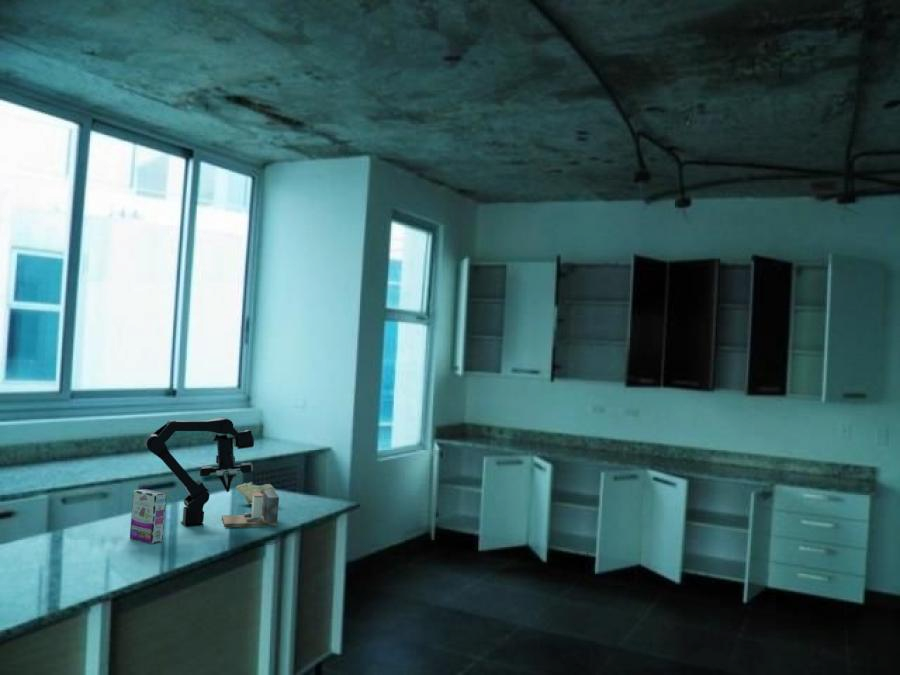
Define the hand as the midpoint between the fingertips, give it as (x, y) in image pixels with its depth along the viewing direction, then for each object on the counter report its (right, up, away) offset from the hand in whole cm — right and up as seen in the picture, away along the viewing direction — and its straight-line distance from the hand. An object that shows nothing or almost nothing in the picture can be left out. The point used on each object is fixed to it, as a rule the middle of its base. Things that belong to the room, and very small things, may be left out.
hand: (227, 491), depth 276 cm
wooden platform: (+8, -12, +1) cm, 14 cm away
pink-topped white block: (+10, -11, +2) cm, 15 cm away
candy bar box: (-18, -10, -30) cm, 37 cm away
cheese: (+1, -12, +30) cm, 33 cm away
